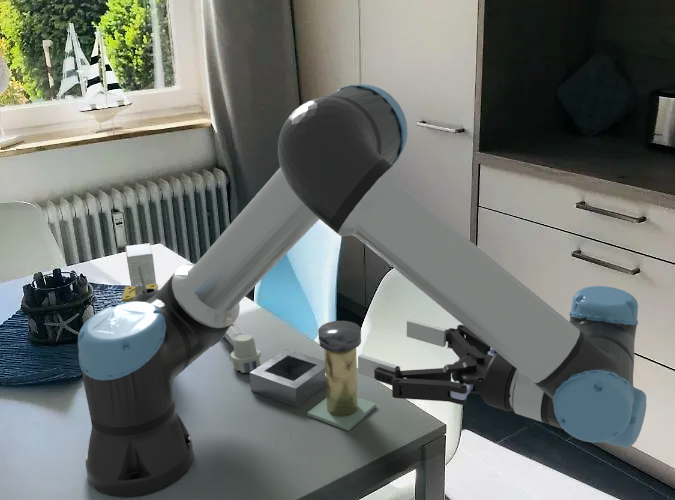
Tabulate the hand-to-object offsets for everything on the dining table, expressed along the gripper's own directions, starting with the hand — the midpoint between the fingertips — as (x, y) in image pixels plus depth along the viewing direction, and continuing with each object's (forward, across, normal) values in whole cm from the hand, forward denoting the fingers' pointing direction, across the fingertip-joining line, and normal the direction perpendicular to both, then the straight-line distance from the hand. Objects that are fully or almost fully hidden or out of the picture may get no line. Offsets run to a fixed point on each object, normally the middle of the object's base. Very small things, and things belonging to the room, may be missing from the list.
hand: (384, 344), depth 108 cm
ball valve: (+61, +5, -15) cm, 63 cm away
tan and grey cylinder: (+8, -1, -13) cm, 15 cm away
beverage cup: (+45, -7, -15) cm, 48 cm away
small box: (+76, +16, -15) cm, 79 cm away
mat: (+8, -1, -14) cm, 16 cm away
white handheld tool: (+39, +7, -15) cm, 43 cm away
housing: (+20, +1, -14) cm, 24 cm away
